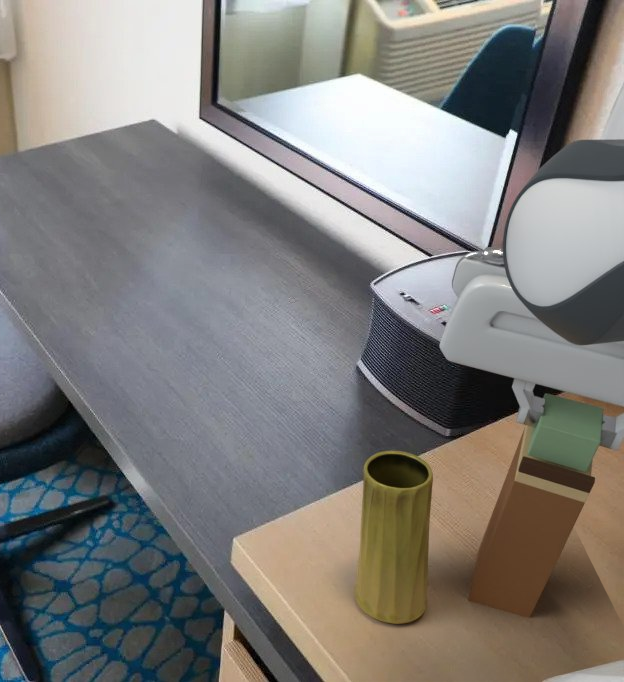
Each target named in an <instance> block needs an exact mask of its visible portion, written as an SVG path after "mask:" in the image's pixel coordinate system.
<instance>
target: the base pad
mask: <svg viewBox="0 0 624 682" xmlns="http://www.w3.org/2000/svg"><path fill="white" fill-rule="evenodd" d="M532 428H533V427H531V426H527V425H525V426H524V428H523V431H522V433H521V436H520V439H519V442H518V444H517V447H516V450H515V452H514V455H513V457H512V459H511V463H510V465H509V467H508V470H507V473H506V476H505V478H504V481H503V484H502V486H501V489H500V492H499V494H498V497H497V500H496V502H495V505H494V508H493V510H492V512H491V515H490V518H489V521H488V523H487V526H486V528H485V531H484V534H483V537H482V539H481V541H480V545H479V548H478V551H477V555H476V558H475V565H474V568H473V574H472V579H471V584H470V588H469V592H468V598H467V601H468V602H472V603H475V604H479V605H482V606H486V607H489V608H493V609H496V610H500V611H503V612H507V613H511V614H513V615H517V616H521V617H523V618H524V617H525V618H528V619H530V618H531V617H532V614H533V612H534V610H535V608H536V605H537V604H538V601H539V600H540V597H541V595H542V593H543V592H544V589H545V587H546V585H547V583H548V581H549V579H550V577H551V574H552V573H553V571H554V568H555V566H556V565H557V562H558V560H559V558H560V555H561V554H562V552H563V550H564V548H565V545H566V543H567V542H568V539H569V537H570V535H571V533H572V531H573V529H574V526H575V524H576V523H577V520H578V518H579V517H580V514H581V512H582V510H583V508H584V506H585V503H586V502H587V501H588V498H589V497H590V493H591V492H592V490H593V487H594V485H595V483H596V477H595V476H592V471H593V462H594V458H593V459H592V461H591V464H590V466H589V468H588V470H587V472H583V471H580V470H576V469H573V468H570V467H566V466H563V465H560V464H556V463H553V462H550V461H546V460H543V459H539V458H536V457H533V456H529V455H528V450H529V444H530V439H531V434H532Z"/></svg>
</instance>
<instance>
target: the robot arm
mask: <svg viewBox="0 0 624 682" xmlns="http://www.w3.org/2000/svg"><path fill="white" fill-rule="evenodd" d="M451 288H452V290H453V293H454V294H455V296H456V299H455V301H454V304H453V307H452V308H451V311H450V313H449V316H448V318H447V320H446V323H445V326H444V329H443V332H442V336H441V339H440V341H439V349H440V351H441V353H442V354H443V357H445V359H446V360H447V361H449V362H451V363H455V364H459V365H462V366H466V367H469V368H475V369H478V370H482V371H486V372H489V373H493V374H497V375H500V376H504V377H507V378H512V379H513V381H512V385H511V389H512V391H513V393H514V396H515V398H516V400H517V403H518V405H519V408H518V411H517V416H516V421H515V422H516V423H517V424H520V425H527V426H531V427H535V428H536V427H537V425H538V421H539V420H540V417H541V416H542V414H543V410H544V404H545V399H543V397H540V396H537V395H535V394H534V389H535V386H536V385H539V386H543V387H547V388H550V389H553V390H558V391H562V392H565V393H568V394H574V395H577V396H581V397H584V398H588V399H593V400H597V401H600V402H604V403H607V404H611V405H615V406H619V407H622V408H624V82H623V83H622V85H621V88H620V90H619V92H618V94H617V97H616V99H615V101H614V104H613V106H612V108H611V111H610V113H609V116H608V118H607V120H606V123H605V125H604V127H603V131H602V133H601V136H600V139H578V140H574V141H572V142H570V143H568V144H566V145H565V146H563V148H561V149H560V150H559V151H558V152H556V153H555V154H554V155H552V156H551V157H550V158H549V159H548V160H547V161H546V162H545V163H544V164H543V165H542V166H541V167H539V169H538V170H537V171H536V172H535V173H534V174H533V175H532V176H531V177H530V178H529V180H528V181H527V182H526V183H525V185H524V186H523V187H522V189H521V190H520V192H519V193H518V194H517V196H516V197H515V199H514V200H513V203H512V205H511V207H510V209H509V211H508V214H507V218H506V220H505V225H504V230H503V236H502V248H499V247H494V246H493V247H492V246H486V247H485V248H484V250H474V251H470V252H468V253H466V254H464V255H463V256H461V257H460V258H459V259H458V261H457V263H456V265H455V268H454V271H453V276H452V279H451ZM623 441H624V412H622V413H621V414H619V415H617V416H615V417H614V416H610V415H606V414H603V417H602V426H601V442H600V445H599V447H603V448H606V449H609V450H613V451H616V452H617V451H618V450H619V448H620V446H621V445H622V444H623V443H622V442H623ZM541 682H624V659H619V660H616V661H611V662H607V663H603V664H600V665H595V666H592V667H588V668H583V669H580V670H575V671H572V672H568V673H564V674H559V675H555V676H551V677H549V678H546V679H545V680H542V681H541Z"/></svg>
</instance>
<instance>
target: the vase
mask: <svg viewBox="0 0 624 682" xmlns="http://www.w3.org/2000/svg"><path fill="white" fill-rule="evenodd" d="M362 470H363V472H362V475H363V478H362V480H363V482H362V499H361V516H360V519H361V520H360V535H359V536H360V537H359V551H358V560H357V572H356V583H355V585H354V590H353V591H354V592H353V594H354V599H355V601H356V603H357V605H358V606H359V608H360V609H361V610H362V611H363V612H364V613H365V614H367V615H368V616H370V617H371V618H373V619H375V620H377V621H380V622H384V623H388V624H393V625H394V624H395V625H397V624H407V623H411V622H413V621H414V622H415V620H417V619H419V618H420V617H421V616H422V615H423V614H424V613H425V611H426V609H427V605H428V601H429V598H428V580H429V579H428V575H429V543H430V523H431V521H430V520H431V509H432V507H431V506H432V505H431V504H432V498H433V497H432V494H433V483H434V473H433V469H432V468H431V466H430V464H429V462H427V461H426V460H424V459H423V458H422V457H420V456H418V455H416V454H413V453H410V452H407V451H401V450H385V451H379V452H376V453H375V454H373V455H371V456H370V457H369V458H367V460H366V461H365V463H364V465H363V469H362Z"/></svg>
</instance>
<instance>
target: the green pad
mask: <svg viewBox="0 0 624 682" xmlns="http://www.w3.org/2000/svg"><path fill="white" fill-rule="evenodd" d="M542 398H543V399H545V404H544V410H543V414H542V416H541V417H540V420H539V421H538V425H537V427H536V428H535V427H533V428H532V434H531V439H530V444H529V450H528V455H529V456H533V457H536V458H539V459H543V460H546V461H550V462H553V463H556V464H560V465H563V466H566V467H570V468H573V469H576V470H580V471H583V472H587V470H588V468H589V466H590V464H591V461H592V459H593V460H594V457H595V455H596V453H597V451H598V449H599V447H600V446H599V445H600V442H601V426H602V417H603V415H604V408H603V407H599V406H597V405H593V404H588V403H585V402H581V401H578V400H573V399H569V398H566V397H562V396H558V395H554V394H551V393H546V392H545V393H544V395H543V397H542Z"/></svg>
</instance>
